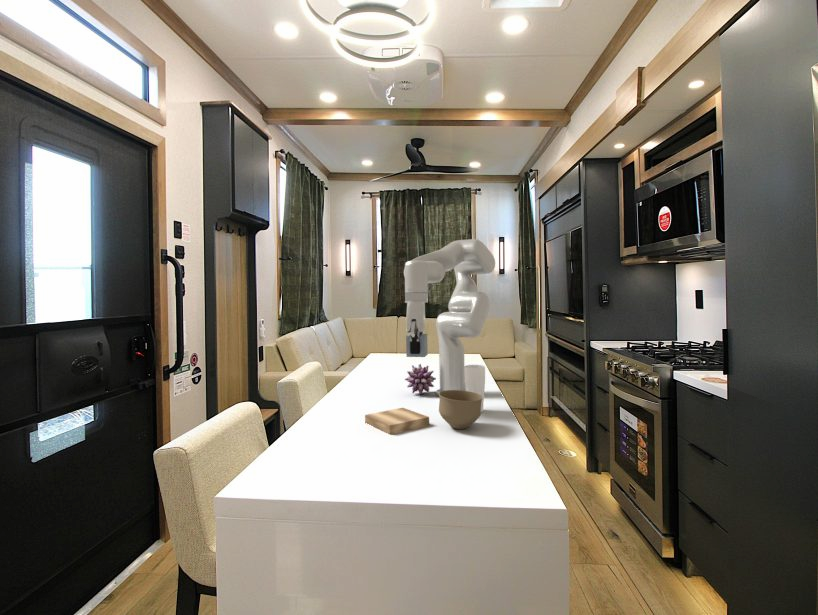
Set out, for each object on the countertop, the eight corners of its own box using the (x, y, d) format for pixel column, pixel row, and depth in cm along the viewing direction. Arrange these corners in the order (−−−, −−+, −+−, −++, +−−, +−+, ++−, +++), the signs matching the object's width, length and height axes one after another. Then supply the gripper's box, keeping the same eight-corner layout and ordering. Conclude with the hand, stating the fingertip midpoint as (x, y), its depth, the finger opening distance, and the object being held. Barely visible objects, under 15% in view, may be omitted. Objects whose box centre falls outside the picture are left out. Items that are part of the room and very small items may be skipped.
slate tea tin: (410, 354, 156) (409, 333, 156) (427, 354, 155) (427, 333, 155) (406, 356, 150) (406, 335, 150) (424, 357, 149) (424, 335, 149)
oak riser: (402, 416, 149) (402, 407, 149) (429, 426, 137) (429, 416, 137) (365, 424, 141) (364, 415, 141) (389, 436, 129) (389, 425, 129)
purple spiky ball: (405, 391, 183) (404, 361, 182) (435, 390, 182) (434, 360, 182) (404, 398, 171) (404, 366, 171) (437, 397, 171) (436, 365, 170)
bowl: (481, 435, 127) (481, 399, 127) (436, 433, 130) (435, 398, 129) (483, 421, 140) (483, 389, 139) (442, 420, 142) (441, 388, 142)
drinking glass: (484, 408, 154) (484, 364, 154) (486, 414, 148) (485, 368, 147) (464, 408, 155) (464, 364, 154) (465, 414, 148) (464, 368, 148)
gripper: (410, 297, 161) (411, 349, 162) (399, 298, 144) (400, 355, 145) (431, 297, 160) (432, 349, 160) (423, 298, 143) (423, 356, 143)
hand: (417, 351), depth 153 cm, fingers closed on slate tea tin, 6 cm apart
